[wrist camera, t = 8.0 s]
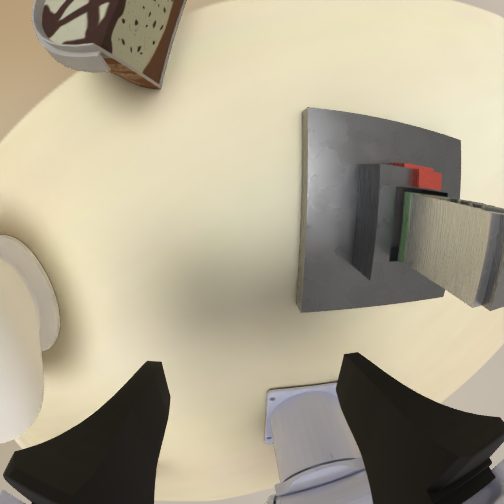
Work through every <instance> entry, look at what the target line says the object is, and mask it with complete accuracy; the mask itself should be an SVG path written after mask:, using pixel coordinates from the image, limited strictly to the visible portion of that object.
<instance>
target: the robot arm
mask: <svg viewBox="0 0 504 504" xmlns="http://www.w3.org/2000/svg"><path fill="white" fill-rule="evenodd" d="M272 397H274V398H272ZM169 407H170V393H169V390H168V386H167V382H166V378H165V374H164V370H163V366H162V362H154V361H147V362H146V363H145V364H144V365H143V366H142V367H141V368H140V369H139V370H138V371H137V372H136V373H135V374H134V375H133V376H132V378H131V379H130V380H129V381H128V382H127V383H126V384H125V385H124V386H123V387H122V388H121V389H120V390H119V391H118V392H117V393H116V394H115V395H114V396H113V397H112V398H111V399H110V400H109V401H107V402H106V403H105V404H104V405H103V406H102V407H101V408H100V409H98V410H97V411H96V412H95V413H94V414H92V415H91V416H90V417H88V418H87V419H85V420H84V421H83V422H81V423H80V424H78V425H76V426H75V427H73V428H71V429H70V430H68V431H66V432H64V433H63V434H61V435H59V436H57V437H55V438H53V439H51V440H48V441H46V442H43V443H41V444H38V445H36V446H32V447H29V448H26V449H22V450H19V451H15V452H14V454H13V456H12V458H11V460H10V462H9V463H8V466H7V468H6V470H5V472H4V474H3V476H4V478H5V480H6V481H7V482H8V483H9V484H10V485H11V486H12V487H13V488H15V489H16V490H17V491H18V492H20V493H21V494H22V495H23V496H25V497H26V498H27V499H29V500H30V501H31V502H32V504H154V490H155V477H156V468H157V462H158V458H159V454H160V449H161V445H162V441H163V437H164V433H165V429H166V425H167V421H168V415H169ZM264 441H265V444H274V448H275V454H276V460H277V466H278V472H279V479H280V482H281V483H279V484H276V485H275V489H276V494H274V495H271V496H269V498H268V499H267V501H266V503H265V504H504V460H503V461H501V462H500V463H499V464H498V465H497V466H495V468H493V469H492V470H491V469H490V468H489V466H490V465H491V464H492V461H491V460H490V458H489V457H490V456H491V455H492V454H493V453H494V452H495V450H497V448H498V447H499V446H500V445H501V444H502V443H503V442H504V422H503V421H502V420H501V418H500V417H491V416H483V415H476V414H472V413H468V412H463V411H460V410H456V409H453V408H450V407H448V406H445V405H442V404H440V403H437V402H435V401H433V400H431V399H428V398H426V397H424V396H422V395H420V394H418V393H417V392H415V391H413V390H411V389H410V388H408V387H406V386H405V385H403V384H402V383H400V382H399V381H397V380H396V379H394V378H393V377H391V376H390V375H388V374H387V373H386V372H384V371H383V370H381V369H380V368H379V367H377V366H376V365H375V364H373V363H372V362H371V361H369V360H368V359H366V358H365V357H364V356H362V355H361V354H359V353H358V352H356V353H350V354H344V357H343V362H342V366H341V370H340V374H339V378H338V382H335V383H329V384H322V385H314V386H306V387H297V388H287V389H275V390H270V391H268V393H267V405H266V423H265V439H264ZM355 441H356V442H355ZM357 446H358V447H357ZM358 448H359V449H358ZM360 453H361V454H360ZM0 504H25V503H24V502H22V501H20V500H19V499H17V498H16V497H14V496H13V495H11V494H10V493H8V492H6V491H5V490H2V492H1V494H0Z"/></svg>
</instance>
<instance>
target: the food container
mask: <svg viewBox="0 0 504 504" xmlns="http://www.w3.org/2000/svg"><path fill="white" fill-rule="evenodd" d="M186 1H187V0H35V2H34V6H33V11H32V22H33V26H34V29H35V32H36V35H37V38H38V40H39V41H40V43H41V44H42V45H43V46H44V48H45V49H46V50H47V51H48V52H49V53H50V54H51V55H52V57H53V58H54V59H55V60H56V61H58V62H59V63H61V64H62V65H64V66H65V67H68V68H71V69H75V70H77V71H85V72H93V73H94V72H112V73H114V74H116V75H118V76H120V77H122V78H124V79H126V80H128V81H130V82H132V83H134V84H136V85H139V86H142V87H146V88H152V89H161V86H162V82H163V78H164V74H165V70H166V66H167V62H168V58H169V54H170V51H171V47H172V44H173V40H174V37H175V34H176V30H177V27H178V24H179V21H180V18H181V15H182V12H183V9H184V6H185V4H186Z"/></svg>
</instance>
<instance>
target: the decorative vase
mask: <svg viewBox="0 0 504 504" xmlns="http://www.w3.org/2000/svg"><path fill="white" fill-rule="evenodd" d="M59 330H60V314H59V308H58V303H57V299H56V296H55V293H54V290H53V288H52V285H51V283H50V280H49V278H48V276H47V274H46V272H45V271H44V269H43V267H42V266H41V264H40V262H39V261H38V260H37V258H36V257H35V256H34V254H33V253H32V252H31V251H30V250H29V249H28V248H27V247H26V246H25V245H24V244H23V243H22V242H20V241H19V240H17V239H16V238H14V237H11V236H8V235H0V443H5V442H8V441H11V440H13V439H16V438H18V437H19V436H21V435H22V434H23V433H25V432H26V431H27V430H28V429H29V428H30V426H31V425H32V424H33V423H34V421H35V420H36V418H37V416H38V414H39V412H40V409H41V406H42V402H43V394H44V376H43V364H42V354H41V352H42V351H46V350H48V349H49V348H50V347H51V346H52V345H53V344H54V343H55V341H56V339H57V337H58V334H59Z"/></svg>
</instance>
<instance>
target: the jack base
mask: <svg viewBox="0 0 504 504" xmlns="http://www.w3.org/2000/svg"><path fill="white" fill-rule="evenodd" d="M460 183H461V140H458V139H455V138H453V137H450V136H446V135H443V134H440V133H437V132H434V131H430V130H427V129H423V128H420V127H416V126H412V125H408V124H404V123H400V122H396V121H391V120H387V119H382V118H377V117H372V116H367V115H361V114H355V113H349V112H342V111H335V110H327V109H319V108H309V107H307V108H306V109H305V110H304V111H303V112H302V202H301V231H300V253H299V271H298V286H297V300H296V304H297V306H298V308H299V310H300V312H316V311H329V310H341V309H352V308H362V307H371V306H380V305H388V304H396V303H404V302H411V301H419V300H425V299H432V298H438V297H443V296H444V292H445V289H444V288H442V287H441V286H439V285H438V284H436V283H435V282H433V281H432V280H430V279H428V278H427V277H425V276H424V275H422V274H421V273H419V272H417V271H416V270H414V269H413V268H411V267H409V266H408V265H406V264H402V263H401V262H399V261H397V260H398V253H399V246H400V238H401V229H402V219H403V208H404V193H405V192H412V193H420V194H428V195H436V196H443V197H450V198H455V199H460Z"/></svg>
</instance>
